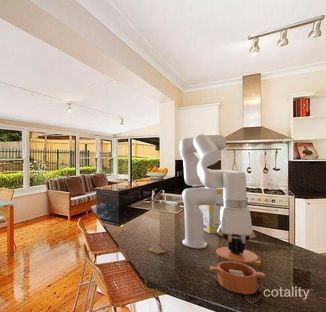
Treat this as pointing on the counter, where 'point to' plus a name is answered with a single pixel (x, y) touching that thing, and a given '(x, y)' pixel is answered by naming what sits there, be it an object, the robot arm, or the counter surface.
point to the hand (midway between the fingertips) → (236, 251)
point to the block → (236, 272)
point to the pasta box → (212, 213)
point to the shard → (157, 249)
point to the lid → (237, 253)
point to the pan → (237, 277)
